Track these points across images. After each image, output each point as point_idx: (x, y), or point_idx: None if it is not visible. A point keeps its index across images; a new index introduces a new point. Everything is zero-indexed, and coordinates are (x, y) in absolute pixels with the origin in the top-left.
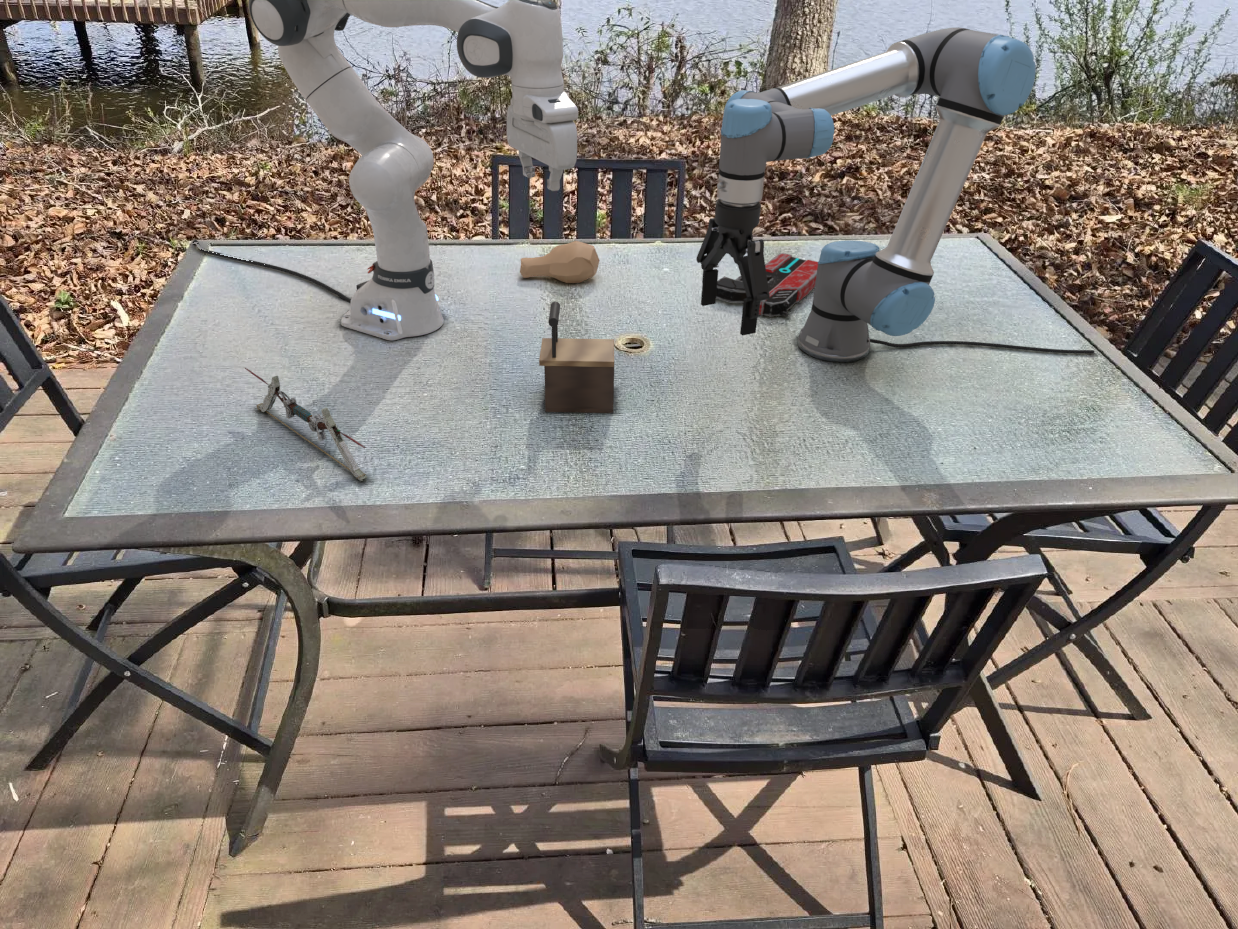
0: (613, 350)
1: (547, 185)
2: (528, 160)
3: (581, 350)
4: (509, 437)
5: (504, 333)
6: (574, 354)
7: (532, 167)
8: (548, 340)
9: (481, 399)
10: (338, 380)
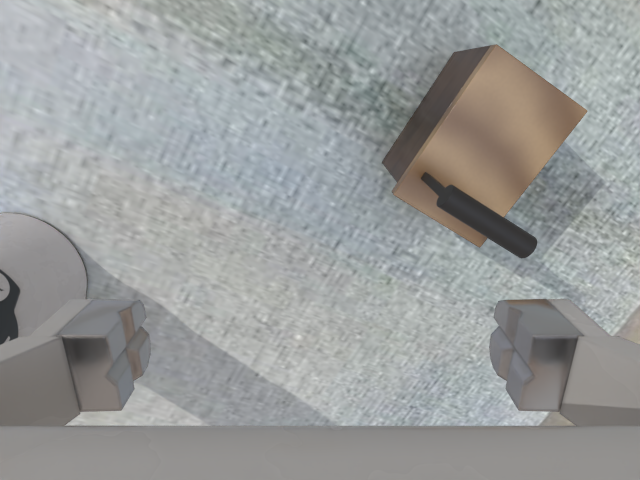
0: (543, 80)
1: (504, 377)
2: (8, 395)
3: (496, 148)
4: (482, 284)
5: (128, 131)
6: (503, 172)
7: (111, 358)
8: (412, 189)
9: (356, 274)
10: (198, 418)
